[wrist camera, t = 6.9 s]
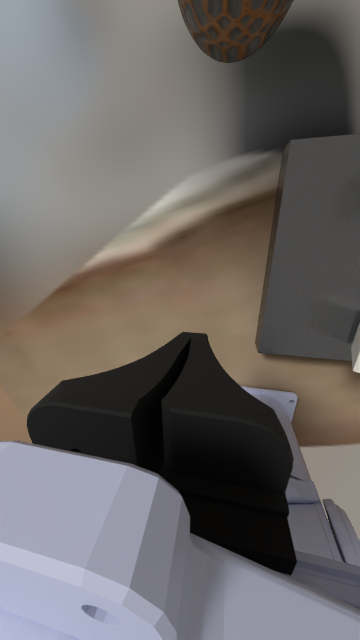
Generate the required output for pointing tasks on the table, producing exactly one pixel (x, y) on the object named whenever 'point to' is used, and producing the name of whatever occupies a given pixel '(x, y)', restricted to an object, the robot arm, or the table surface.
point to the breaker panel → (314, 252)
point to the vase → (232, 25)
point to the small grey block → (356, 351)
